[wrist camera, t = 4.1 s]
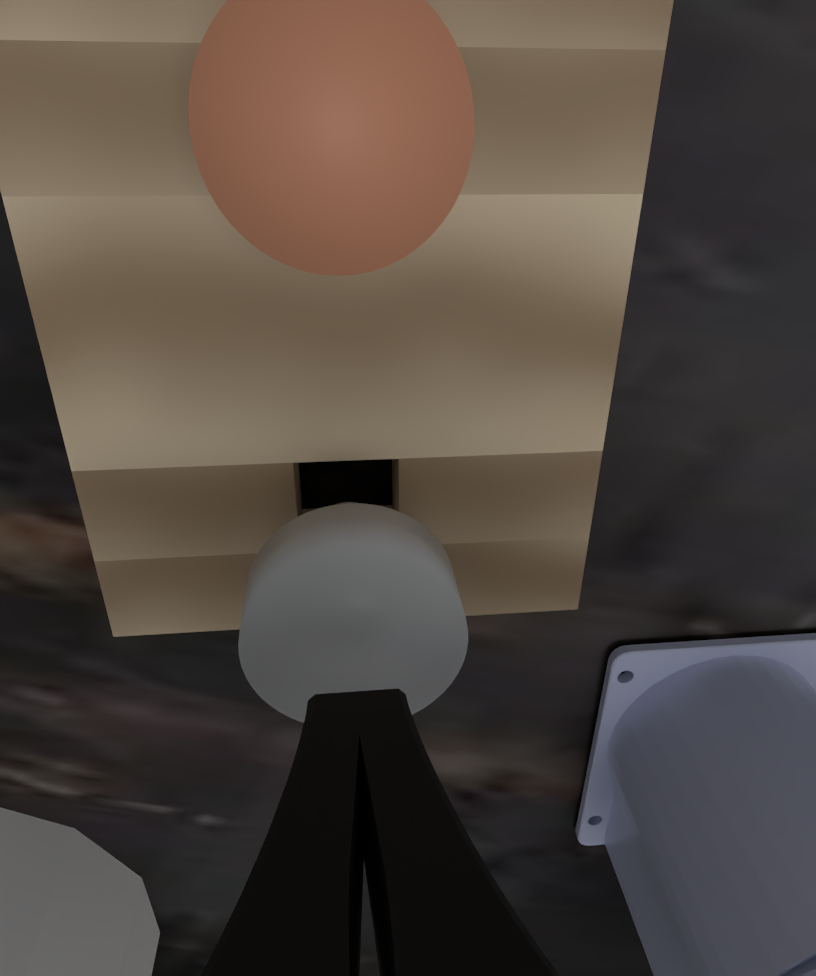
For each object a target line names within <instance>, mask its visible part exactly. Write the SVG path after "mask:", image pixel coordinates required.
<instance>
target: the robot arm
mask: <svg viewBox="0 0 816 976" xmlns="http://www.w3.org/2000/svg"><path fill="white" fill-rule="evenodd" d="M623 671H626V672H625V673H623V674H620V673H621V672H623ZM575 831H576V836H577V839H578V841H579V842H580V844H583V845H587V846H591V845H602V844H605V845H606V848H607V851H608V854H609V856H610V859H611V862H612V864H613V867H614V870H615V872H616V875H617V878H618V881H619V883H620V886H621V889H622V891H623V894H624V897H625V899H626V902H627V905H628V907H629V910H630V913H631V916H632V918H633V921H634V924H635V926H636V929H637V932H638V934H639V937H640V940H641V943H642V945H643V948H644V951H645V953H646V956H647V959H648V961H649V964H650V967H651V969H652V972H653V975H654V976H816V633H808V634H792V635H777V636H761V637H746V638H730V639H715V640H699V641H684V642H668V643H652V644H637V645H625V646H620V647H618V648H616V649H615V650H614V651H613V652H612V653H611V654H610V656H609V658H608V664H607V669H606V674H605V679H604V684H603V690H602V695H601V700H600V705H599V710H598V716H597V721H596V726H595V731H594V736H593V742H592V747H591V752H590V757H589V762H588V768H587V773H586V778H585V783H584V788H583V794H582V799H581V804H580V809H579V814H578V820H577V825H576V830H575ZM364 862H365V869H366V876H367V884H368V891H369V899H370V906H371V913H372V921H373V928H374V935H375V943H376V950H377V957H378V965H379V972H380V976H559V974H558V973H557V972H556V970H555V969H554V967H553V966H552V965H551V963H550V962H549V961H548V959H547V958H546V956H545V955H544V954H543V952H542V951H541V949H540V948H539V947H538V945H537V944H536V942H535V941H534V939H533V938H532V936H531V935H530V933H529V932H528V930H527V929H526V928H525V926H524V925H523V923H522V922H521V920H520V919H519V917H518V916H517V914H516V913H515V911H514V910H513V908H512V907H511V905H510V903H509V902H508V900H507V899H506V897H505V896H504V894H503V893H502V891H501V889H500V888H499V886H498V885H497V883H496V881H495V880H494V878H493V876H492V875H491V873H490V871H489V870H488V868H487V866H486V865H485V863H484V861H483V860H482V858H481V856H480V855H479V853H478V851H477V850H476V848H475V846H474V845H473V843H472V841H471V839H470V837H469V836H468V834H467V832H466V830H465V828H464V827H463V825H462V823H461V821H460V819H459V817H458V815H457V813H456V812H455V810H454V808H453V806H452V804H451V802H450V800H449V798H448V796H447V794H446V792H445V790H444V789H443V787H442V785H441V783H440V781H439V778H438V776H437V774H436V772H435V770H434V768H433V766H432V764H431V761H430V759H429V757H428V755H427V752H426V750H425V748H424V745H423V743H422V741H421V738H420V736H419V733H418V731H417V728H416V725H415V723H414V720H413V717H412V714H411V711H410V708H409V705H408V701H407V697H406V694H405V693H404V692H402V691H401V690H400V689H398V688H397V689H383V690H368V691H354V692H339V693H325V694H315V695H314V696H313V697H311V698H310V699H309V700H308V703H307V710H306V716H305V721H304V725H303V730H302V734H301V738H300V741H299V745H298V749H297V752H296V755H295V758H294V762H293V765H292V768H291V771H290V774H289V777H288V780H287V783H286V786H285V789H284V791H283V794H282V797H281V799H280V802H279V805H278V808H277V810H276V813H275V816H274V818H273V821H272V824H271V826H270V829H269V831H268V834H267V836H266V839H265V841H264V844H263V846H262V848H261V850H260V853H259V855H258V857H257V860H256V862H255V864H254V866H253V869H252V871H251V873H250V876H249V878H248V880H247V882H246V885H245V887H244V889H243V892H242V894H241V896H240V898H239V900H238V903H237V905H236V907H235V909H234V911H233V913H232V915H231V917H230V919H229V921H228V923H227V926H226V928H225V930H224V932H223V934H222V936H221V938H220V940H219V942H218V944H217V946H216V948H215V949H214V951H213V953H212V955H211V957H210V959H209V961H208V963H207V965H206V967H205V969H204V971H203V973H202V975H201V976H359V971H360V945H361V918H362V891H363V863H364Z"/></svg>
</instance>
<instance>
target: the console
mask: <svg viewBox="0 0 816 976" xmlns="http://www.w3.org/2000/svg"><path fill="white" fill-rule="evenodd" d="M226 1H227V0H0V190H1V194H2V198H3V202H4V206H5V210H6V214H7V218H8V222H9V226H10V230H11V234H12V238H13V242H14V246H15V249H16V253H17V257H18V261H19V265H20V269H21V273H22V277H23V281H24V285H25V289H26V293H27V297H28V301H29V305H30V309H31V313H32V317H33V321H34V325H35V329H36V333H37V337H38V341H39V344H40V348H41V352H42V356H43V360H44V364H45V368H46V372H47V376H48V380H49V384H50V388H51V392H52V396H53V400H54V404H55V408H56V412H57V416H58V420H59V424H60V428H61V432H62V435H63V439H64V443H65V447H66V451H67V455H68V459H69V463H70V467H71V471H72V475H73V479H74V483H75V487H76V491H77V495H78V499H79V503H80V507H81V511H82V515H83V519H84V523H85V527H86V530H87V534H88V538H89V542H90V546H91V550H92V554H93V558H94V562H95V566H96V570H97V574H98V578H99V582H100V586H101V590H102V594H103V598H104V602H105V606H106V610H107V614H108V618H109V622H110V625H111V629H112V633H113V637H118V636H135V635H152V634H169V633H186V632H203V631H220V630H237V629H240V627H241V620H242V614H243V608H244V602H245V596H246V590H247V584H248V577H249V573H250V570H251V566H252V564H253V562H254V559H255V557H256V555H257V553H258V552H259V550H260V549H261V547H262V546H263V544H264V543H265V542H266V541H267V540H268V539H269V538H270V537H271V535H272V534H274V533H275V532H276V531H277V530H278V529H280V528H281V527H282V526H283V525H285V524H286V523H288V522H289V521H291V520H293V519H294V518H296V517H298V516H300V515H303V514H305V513H307V512H310V511H313V510H316V509H318V508H316V509H302V498H301V485H300V471H299V462H325V461H351V460H377V459H392V505H383V506H382V507H386V508H390V509H393V510H396V511H399V512H401V513H404V514H406V515H408V516H410V517H411V518H413V519H415V520H417V521H418V522H420V523H421V524H422V525H424V526H425V527H426V528H427V529H429V530H430V531H431V532H432V533H433V534H434V535H435V536H436V538H437V539H438V540H439V541H440V543H441V544H442V545H443V547H444V549H445V551H446V552H447V554H448V557H449V559H450V562H451V565H452V568H453V572H454V576H455V580H456V583H457V587H458V591H459V595H460V598H461V602H462V606H463V610H464V613H465V616H473V615H490V614H507V613H524V612H541V611H558V610H574V609H578V604H579V598H580V592H581V585H582V579H583V573H584V566H585V560H586V554H587V547H588V541H589V535H590V528H591V522H592V515H593V509H594V503H595V496H596V490H597V484H598V477H599V471H600V465H601V458H602V452H603V445H604V439H605V433H606V426H607V420H608V414H609V407H610V401H611V395H612V388H613V382H614V376H615V369H616V363H617V356H618V350H619V344H620V337H621V331H622V325H623V318H624V312H625V306H626V299H627V293H628V286H629V280H630V274H631V267H632V261H633V255H634V248H635V242H636V236H637V229H638V223H639V217H640V210H641V204H642V197H643V191H644V185H645V178H646V172H647V166H648V159H649V153H650V147H651V140H652V134H653V128H654V121H655V115H656V108H657V102H658V96H659V89H660V83H661V77H662V70H663V64H664V58H665V51H666V45H667V38H668V32H669V26H670V19H671V13H672V7H673V0H426V1H427V2H428V3H429V5H430V6H431V7H432V8H433V9H434V10H435V11H436V12H437V14H438V15H439V17H440V18H441V19H442V21H443V22H444V24H445V25H446V27H447V28H448V30H449V31H450V33H451V35H452V37H453V39H454V41H455V43H456V45H457V47H458V49H459V51H460V53H461V56H462V59H463V61H464V64H465V67H466V69H467V73H468V77H469V81H470V85H471V89H472V96H473V104H474V125H475V132H474V142H473V151H472V156H471V161H470V165H469V169H468V173H467V176H466V179H465V181H464V184H463V187H462V190H461V192H460V194H459V196H458V198H457V200H456V202H455V204H454V206H453V208H452V209H451V211H450V212H449V214H448V215H447V217H446V218H445V220H444V221H443V223H442V224H441V225H440V226H439V227H438V229H437V230H436V231H435V232H434V233H433V235H432V236H431V237H429V238H428V239H427V240H426V241H425V242H424V243H423V244H422V245H421V246H420V247H418V248H417V249H416V250H414V251H413V252H411V253H410V254H409V255H407V256H406V257H404V258H402V259H400V260H398V261H396V262H395V263H393V264H391V265H389V266H386V267H383V268H380V269H378V270H375V271H371V272H366V273H362V274H357V275H345V276H332V275H320V274H315V273H310V272H305V271H302V270H299V269H296V268H293V267H290V266H287V265H285V264H283V263H281V262H279V261H277V260H275V259H273V258H271V257H270V256H268V255H266V254H265V253H263V252H262V251H260V250H259V249H257V248H256V247H255V246H254V245H252V244H251V243H250V242H249V241H247V240H246V239H245V238H244V237H243V236H242V235H241V234H240V233H239V232H238V231H237V230H236V229H235V228H234V227H233V226H232V225H231V224H230V223H229V221H228V220H227V219H226V217H225V216H224V215H223V213H222V212H221V211H220V209H219V208H218V206H217V205H216V203H215V201H214V200H213V198H212V196H211V195H210V193H209V191H208V189H207V187H206V185H205V182H204V180H203V178H202V176H201V173H200V171H199V168H198V164H197V161H196V158H195V155H194V152H193V146H192V141H191V136H190V130H189V115H188V102H189V86H190V81H191V75H192V70H193V65H194V62H195V59H196V56H197V52H198V49H199V46H200V44H201V42H202V40H203V37H204V35H205V33H206V31H207V29H208V27H209V25H210V24H211V22H212V20H213V19H214V17H215V16H216V14H217V13H218V11H219V10H220V8H221V7H222V6H223V5H224V4H225V3H226Z"/></svg>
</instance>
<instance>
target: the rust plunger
mask: <svg viewBox="0 0 816 976" xmlns="http://www.w3.org/2000/svg"><path fill="white" fill-rule="evenodd" d="M188 115H189V130H190V136H191V141H192V146H193V152H194V155H195V158H196V161H197V164H198V168H199V171H200V173H201V176H202V178H203V180H204V182H205V185H206V187H207V189H208V191H209V193H210V195H211V196H212V198H213V200H214V201H215V203H216V205H217V206H218V208H219V209H220V211H221V212H222V213H223V215H224V216H225V217H226V219H227V220H228V221H229V223H230V224H231V225H232V226H233V227H234V228H235V229H236V230H237V231H238V232H239V233H240V234H241V235H242V236H243V237H244V238H245V239H246V240H247V241H249V242H250V243H251V244H252V245H254V246H255V247H256V248H257V249H259V250H260V251H262V252H263V253H265V254H266V255H268V256H270V257H271V258H273V259H275V260H277V261H279V262H281V263H283V264H285V265H287V266H290V267H293V268H296V269H299V270H302V271H305V272H310V273H315V274H320V275H332V276H345V275H357V274H362V273H366V272H371V271H375V270H378V269H380V268H383V267H386V266H389V265H391V264H393V263H395V262H396V261H398V260H400V259H402V258H404V257H406V256H407V255H409V254H410V253H411V252H413V251H414V250H416V249H417V248H418V247H420V246H421V245H422V244H423V243H424V242H425V241H426V240H427V239H428V238H429V237H431V236H432V235H433V233H434V232H435V231H436V230H437V229H438V227H439V226H440V225H441V224H442V223H443V221H444V220H445V218H446V217H447V215H448V214H449V212H450V211H451V209H452V208H453V206H454V204H455V202H456V200H457V198H458V196H459V194H460V192H461V190H462V187H463V184H464V181H465V179H466V176H467V173H468V169H469V165H470V161H471V156H472V151H473V142H474V132H475V125H474V104H473V96H472V89H471V85H470V81H469V77H468V73H467V69H466V67H465V64H464V61H463V59H462V56H461V53H460V51H459V49H458V47H457V45H456V43H455V41H454V39H453V37H452V35H451V33H450V31H449V30H448V28H447V27H446V25H445V24H444V22H443V21H442V19H441V18H440V17H439V15H438V14H437V12H436V11H435V10H434V9H433V8H432V7H431V6H430V5H429V3H428V2H427V1H426V0H227V1H226V3H225V4H224V5H223V6H222V7H221V8H220V10H219V11H218V13H217V14H216V16H215V17H214V19H213V20H212V22H211V24H210V25H209V27H208V29H207V31H206V33H205V35H204V37H203V40H202V42H201V44H200V46H199V49H198V52H197V56H196V59H195V62H194V65H193V70H192V75H191V81H190V86H189V102H188Z"/></svg>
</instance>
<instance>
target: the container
mask: <svg viewBox="0 0 816 976" xmlns="http://www.w3.org/2000/svg"><path fill="white" fill-rule="evenodd" d="M159 935H160V931H159V928H158V925H157V922H156V919H155V916H154V913H153V910H152V907H151V904H150V901H149V898H148V895H147V892H146V889H145V886H144V883H143V880H142V878H141V877H140V876H138V875H137V874H136V873H134V872H133V871H132V870H130V869H129V868H128V867H126V866H125V865H124V864H122V863H121V862H119V861H118V860H117V859H115V858H114V857H113V856H111V855H110V854H109V853H107V852H106V851H105V850H103V849H102V848H101V847H99V846H98V845H96V844H95V843H94V842H92V841H91V840H90V839H88V838H87V837H86V836H84V835H83V834H82V833H80V832H79V831H78V830H76V829H75V828H72V827H68V826H64V825H61V824H57V823H54V822H50V821H47V820H43V819H39V818H36V817H32V816H29V815H25V814H22V813H18V812H14V811H11V810H7V809H4V808H0V976H151V975H152V970H153V965H154V960H155V955H156V950H157V945H158V940H159Z"/></svg>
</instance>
